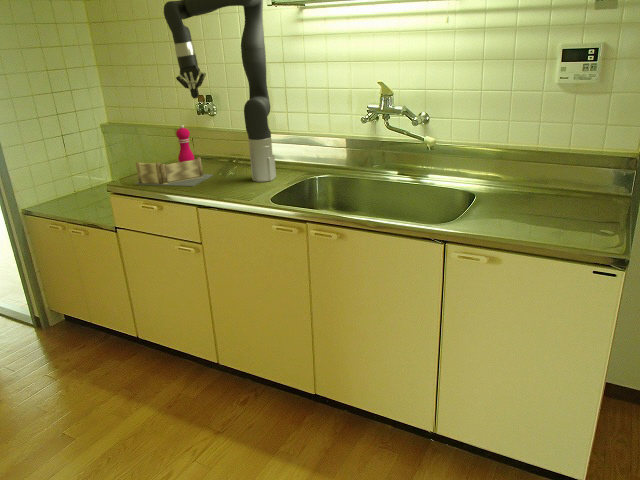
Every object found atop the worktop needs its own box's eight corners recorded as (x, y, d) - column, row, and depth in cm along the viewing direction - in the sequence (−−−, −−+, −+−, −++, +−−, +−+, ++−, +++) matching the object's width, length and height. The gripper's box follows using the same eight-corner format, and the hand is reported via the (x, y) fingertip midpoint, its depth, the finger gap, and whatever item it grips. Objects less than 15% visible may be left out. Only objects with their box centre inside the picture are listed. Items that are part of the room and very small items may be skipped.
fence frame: (138, 183, 229) (134, 163, 226) (140, 182, 231) (137, 162, 228) (161, 183, 226) (158, 163, 223) (164, 182, 228) (160, 162, 225)
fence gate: (163, 182, 226) (160, 164, 223) (162, 181, 227) (159, 164, 224) (203, 175, 234) (201, 158, 231) (202, 174, 235) (199, 157, 233)
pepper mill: (193, 169, 250) (187, 125, 243) (178, 170, 250) (171, 126, 243) (197, 165, 257) (191, 122, 249) (182, 166, 257) (175, 123, 250)
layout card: (213, 175, 238) (213, 174, 237) (193, 186, 221) (193, 185, 221) (156, 173, 245) (156, 172, 245) (133, 184, 229) (133, 183, 229)
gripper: (204, 51, 221) (213, 94, 228) (175, 55, 224) (185, 98, 231) (197, 53, 214) (206, 98, 221) (166, 57, 218) (177, 101, 224)
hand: (195, 98), depth 226 cm, fingers closed
